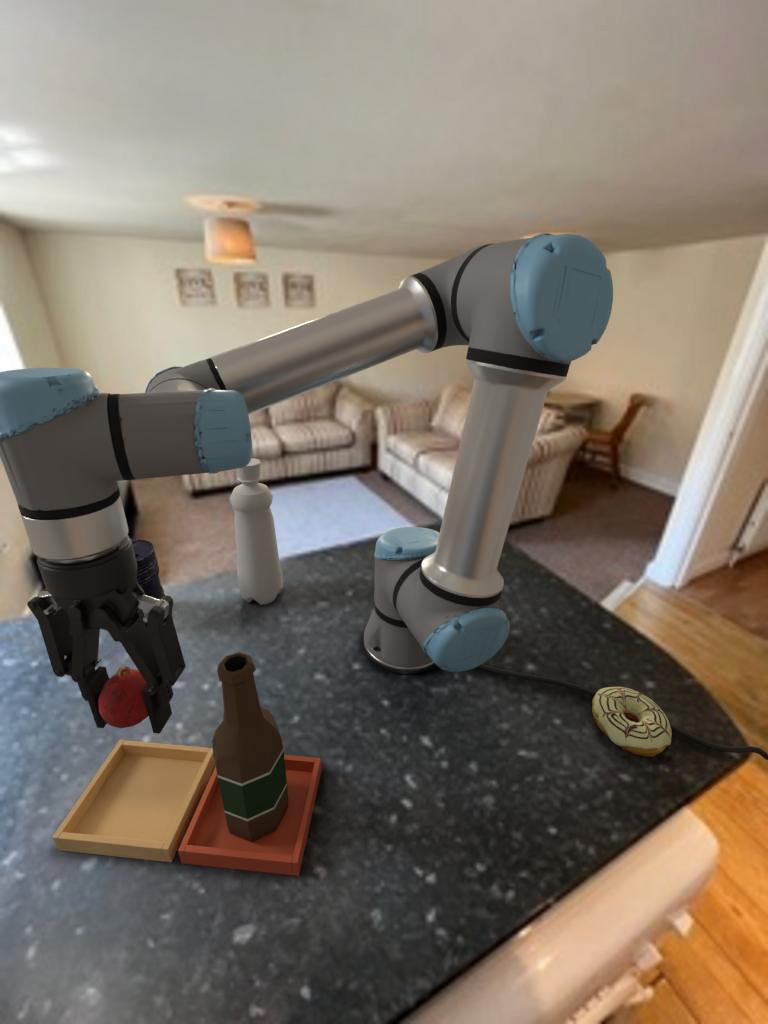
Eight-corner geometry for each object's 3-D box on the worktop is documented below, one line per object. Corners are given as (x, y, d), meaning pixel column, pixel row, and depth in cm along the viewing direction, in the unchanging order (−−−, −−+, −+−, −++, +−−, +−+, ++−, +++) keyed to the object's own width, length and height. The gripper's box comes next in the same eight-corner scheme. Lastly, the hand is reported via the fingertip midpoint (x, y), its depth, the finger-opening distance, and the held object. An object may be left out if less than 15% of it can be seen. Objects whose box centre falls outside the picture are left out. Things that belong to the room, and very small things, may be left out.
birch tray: (217, 760, 61) (215, 748, 60) (171, 862, 50) (167, 849, 49) (123, 751, 62) (119, 739, 61) (58, 850, 51) (51, 837, 50)
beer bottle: (232, 781, 58) (206, 637, 48) (292, 778, 59) (279, 634, 49) (217, 847, 51) (182, 695, 41) (285, 842, 52) (269, 691, 42)
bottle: (231, 604, 93) (212, 467, 80) (252, 580, 101) (237, 452, 88) (272, 611, 91) (259, 472, 78) (290, 586, 99) (281, 457, 86)
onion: (140, 749, 48) (125, 694, 45) (94, 738, 49) (75, 684, 46) (174, 706, 53) (162, 654, 50) (131, 697, 54) (117, 646, 51)
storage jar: (100, 626, 85) (75, 544, 78) (141, 597, 94) (122, 521, 86) (140, 640, 82) (118, 555, 75) (179, 609, 91) (163, 530, 83)
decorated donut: (612, 762, 63) (619, 744, 61) (577, 700, 72) (582, 683, 71) (682, 758, 64) (691, 740, 62) (638, 698, 73) (644, 681, 72)
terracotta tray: (321, 770, 61) (321, 757, 59) (298, 876, 49) (297, 863, 48) (225, 761, 61) (223, 748, 60) (181, 863, 50) (177, 850, 49)
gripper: (201, 531, 44) (228, 701, 54) (21, 519, 45) (79, 688, 55) (161, 573, 37) (200, 758, 47) (-50, 557, 39) (31, 741, 48)
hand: (135, 720), depth 51 cm, fingers closed on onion, 6 cm apart
